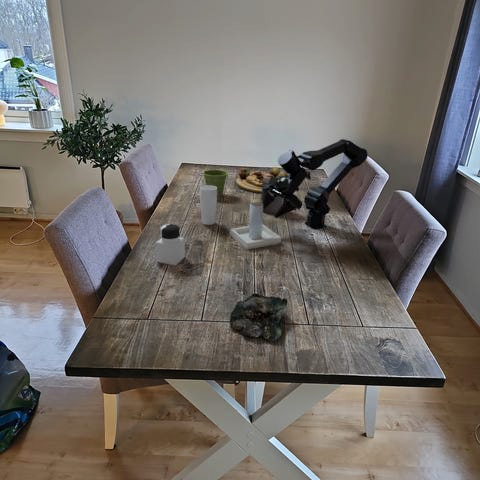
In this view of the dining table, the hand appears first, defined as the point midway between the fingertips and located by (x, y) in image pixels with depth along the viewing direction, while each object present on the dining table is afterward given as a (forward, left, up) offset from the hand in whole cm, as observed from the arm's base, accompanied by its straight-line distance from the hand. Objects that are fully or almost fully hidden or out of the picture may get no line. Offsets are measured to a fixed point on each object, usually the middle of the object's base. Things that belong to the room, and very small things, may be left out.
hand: (267, 213), depth 158 cm
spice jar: (+5, +1, -9) cm, 10 cm away
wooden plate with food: (-34, -59, -10) cm, 69 cm away
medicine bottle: (+39, +5, -10) cm, 41 cm away
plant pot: (-2, -52, -10) cm, 53 cm away
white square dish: (+5, +1, -9) cm, 11 cm away
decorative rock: (+29, +47, -10) cm, 56 cm away
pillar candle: (-17, -24, -10) cm, 31 cm away
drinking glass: (+15, -20, -10) cm, 27 cm away
